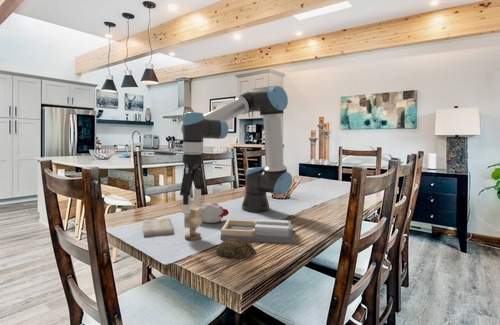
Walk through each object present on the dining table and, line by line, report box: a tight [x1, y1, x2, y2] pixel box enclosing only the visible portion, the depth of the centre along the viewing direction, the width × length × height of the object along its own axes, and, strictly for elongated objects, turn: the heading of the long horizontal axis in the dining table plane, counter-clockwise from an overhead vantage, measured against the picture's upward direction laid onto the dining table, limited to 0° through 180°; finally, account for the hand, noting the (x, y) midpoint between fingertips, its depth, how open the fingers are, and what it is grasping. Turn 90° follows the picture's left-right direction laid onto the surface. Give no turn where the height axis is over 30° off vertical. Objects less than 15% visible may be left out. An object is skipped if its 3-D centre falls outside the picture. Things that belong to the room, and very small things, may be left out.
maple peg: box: [183, 205, 202, 241], centre depth 111 cm, size 6×6×12 cm
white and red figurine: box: [198, 202, 229, 224], centre depth 133 cm, size 9×11×15 cm
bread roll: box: [216, 239, 257, 259], centre depth 99 cm, size 13×12×5 cm
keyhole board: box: [219, 218, 295, 245], centre depth 117 cm, size 28×16×5 cm, turn 84°
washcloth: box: [142, 217, 175, 237], centre depth 122 cm, size 12×18×3 cm, turn 22°
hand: (192, 208), depth 110 cm, fingers open, 13 cm apart
